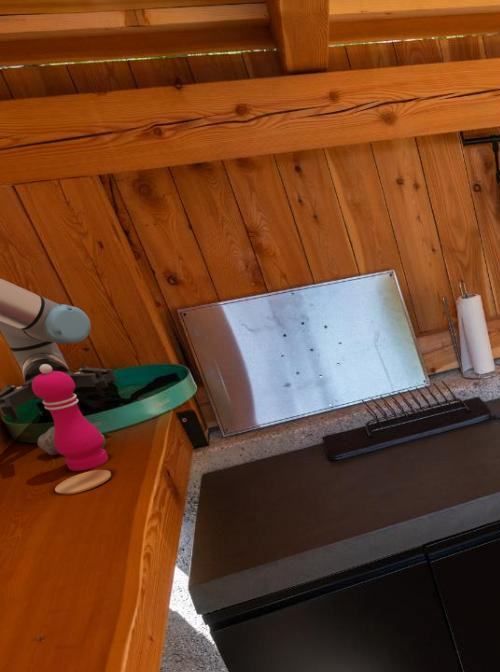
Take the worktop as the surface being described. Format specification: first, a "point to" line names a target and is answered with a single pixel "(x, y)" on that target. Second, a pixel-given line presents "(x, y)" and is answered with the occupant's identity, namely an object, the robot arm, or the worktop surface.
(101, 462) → the pepper mill
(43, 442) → the stone
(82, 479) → the cork mat
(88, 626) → the worktop surface
